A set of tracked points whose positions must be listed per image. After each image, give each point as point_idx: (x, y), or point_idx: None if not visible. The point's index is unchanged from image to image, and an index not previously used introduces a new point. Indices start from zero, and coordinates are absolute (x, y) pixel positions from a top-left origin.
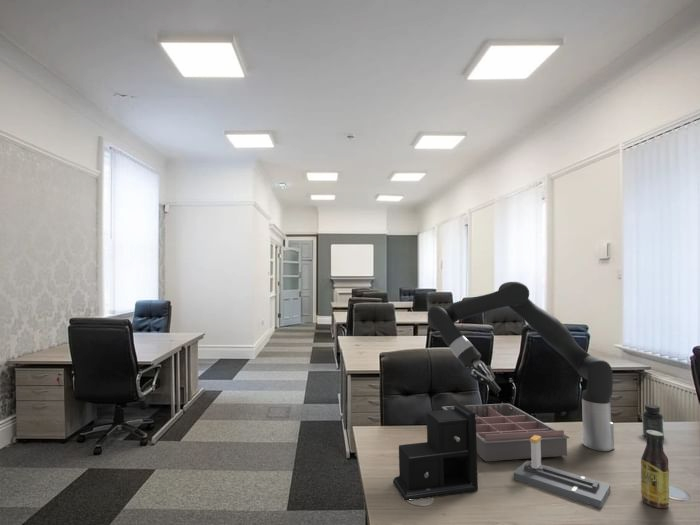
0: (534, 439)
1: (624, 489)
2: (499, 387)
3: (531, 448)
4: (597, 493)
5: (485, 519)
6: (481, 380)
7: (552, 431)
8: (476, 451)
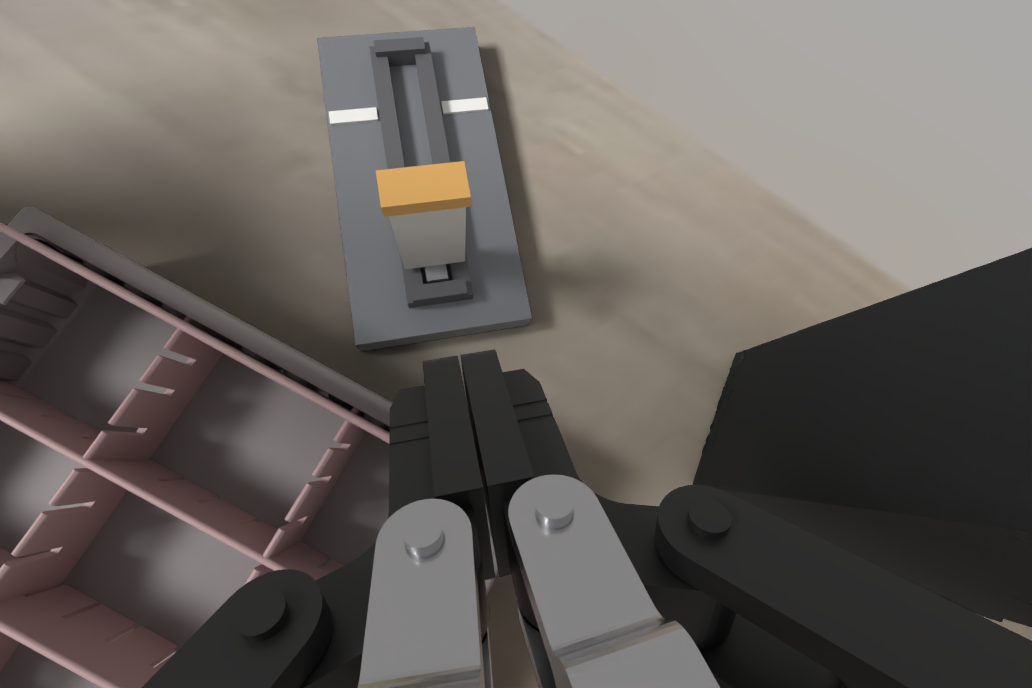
0: (460, 174)
1: (262, 33)
2: (428, 377)
3: (465, 218)
4: (430, 47)
5: (839, 240)
6: (734, 663)
7: (70, 261)
8: (857, 311)
